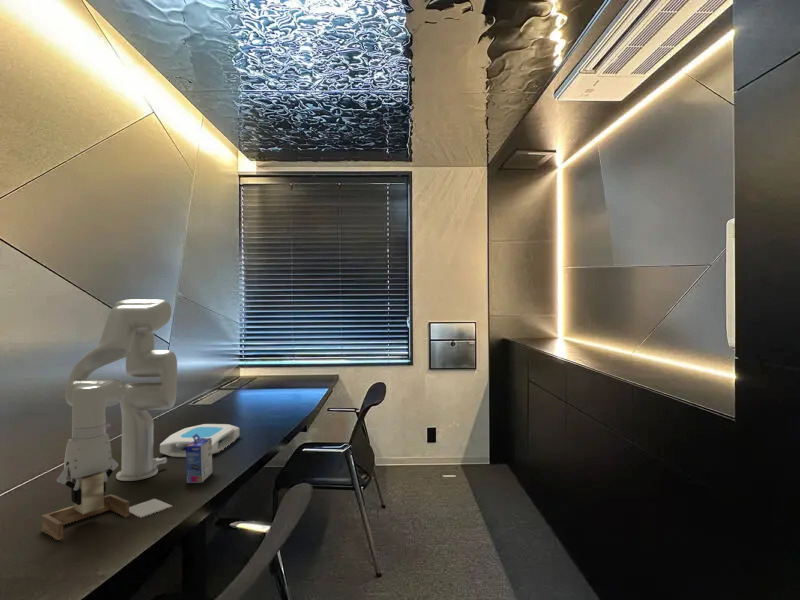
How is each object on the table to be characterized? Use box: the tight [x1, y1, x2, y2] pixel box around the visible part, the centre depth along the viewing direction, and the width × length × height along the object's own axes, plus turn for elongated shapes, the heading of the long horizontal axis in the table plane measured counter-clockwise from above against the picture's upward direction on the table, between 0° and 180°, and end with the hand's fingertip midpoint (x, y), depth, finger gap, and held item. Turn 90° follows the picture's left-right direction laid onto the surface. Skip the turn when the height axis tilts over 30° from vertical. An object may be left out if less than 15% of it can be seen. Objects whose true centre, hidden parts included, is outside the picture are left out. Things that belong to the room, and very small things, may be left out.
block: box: [73, 473, 104, 514], centre depth 128 cm, size 5×5×9 cm
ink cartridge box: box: [185, 434, 213, 484], centre depth 161 cm, size 10×6×14 cm, turn 2°
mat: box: [129, 498, 173, 519], centre depth 137 cm, size 9×9×1 cm
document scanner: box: [159, 423, 240, 458], centre depth 198 cm, size 21×28×6 cm
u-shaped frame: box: [41, 493, 130, 541], centre depth 127 cm, size 17×10×4 cm, turn 147°
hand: (88, 499), depth 128 cm, fingers closed on block, 5 cm apart
